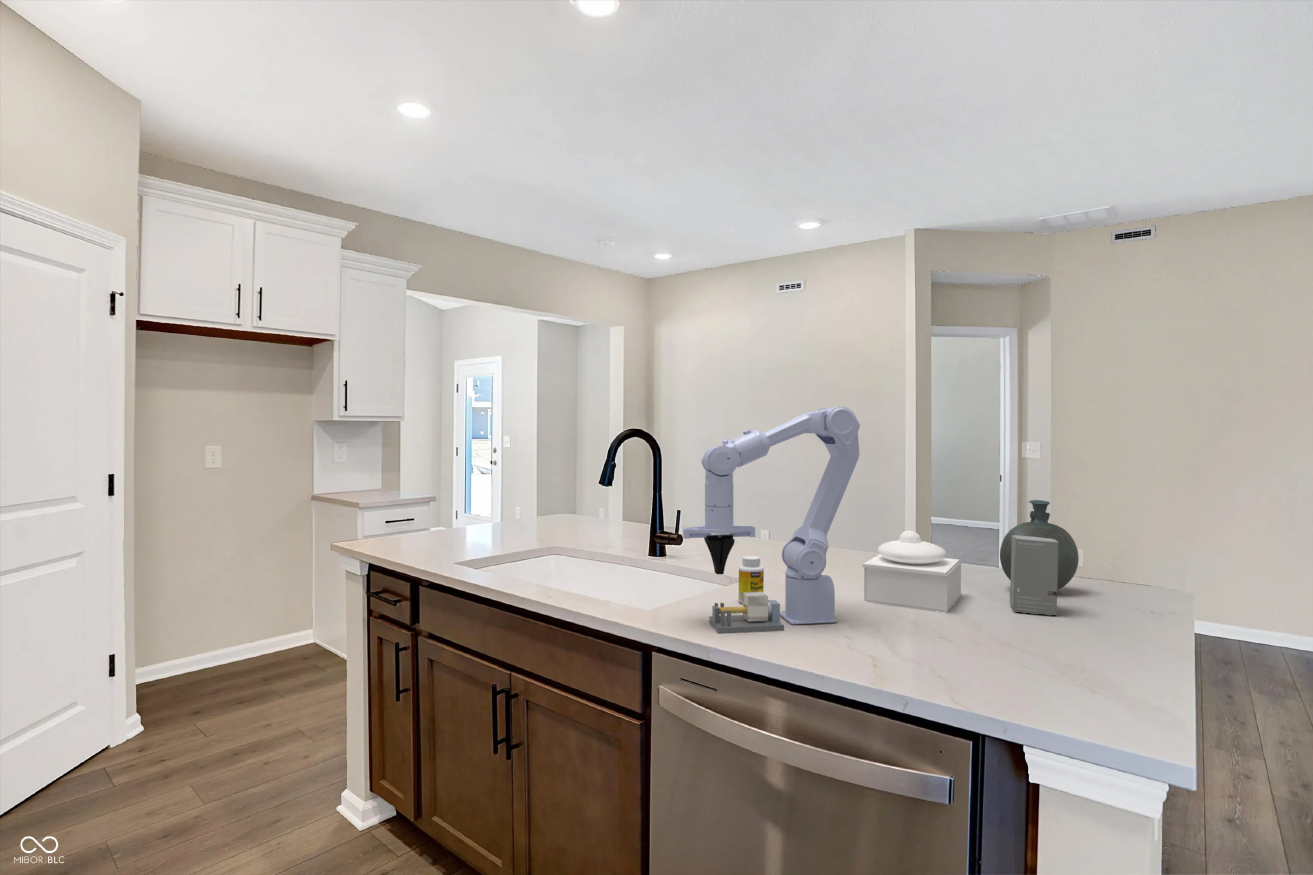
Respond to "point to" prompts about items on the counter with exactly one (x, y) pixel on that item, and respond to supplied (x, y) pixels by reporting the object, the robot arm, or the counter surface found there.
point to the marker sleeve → (755, 606)
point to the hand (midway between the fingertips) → (719, 573)
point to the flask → (1043, 530)
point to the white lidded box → (912, 575)
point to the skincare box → (1034, 575)
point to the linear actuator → (740, 623)
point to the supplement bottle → (750, 576)
